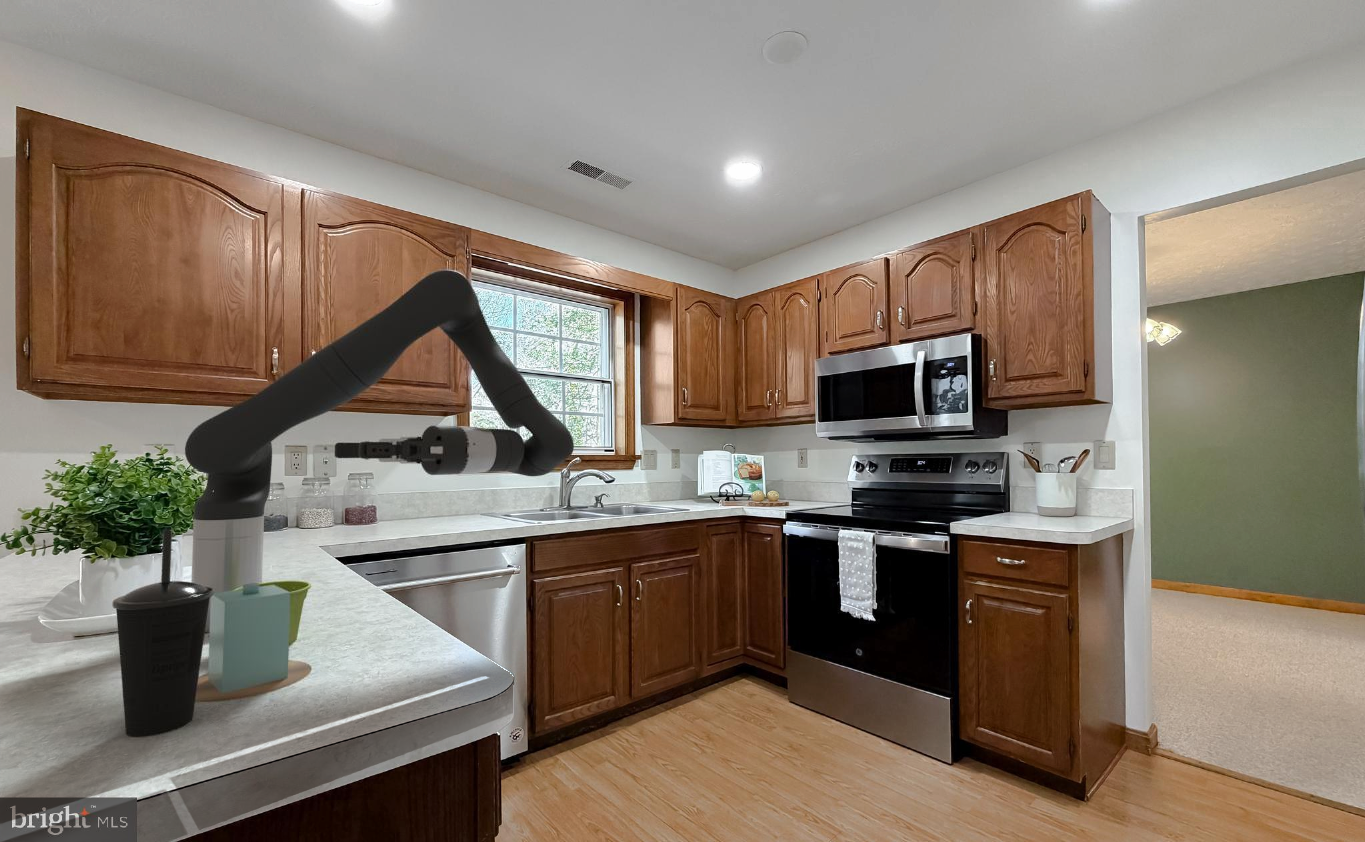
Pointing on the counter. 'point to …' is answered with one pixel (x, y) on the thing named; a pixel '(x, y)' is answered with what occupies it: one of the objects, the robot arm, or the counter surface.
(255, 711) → the counter surface
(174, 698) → the drinking cup
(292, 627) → the plant pot
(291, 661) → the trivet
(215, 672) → the teal flask block
